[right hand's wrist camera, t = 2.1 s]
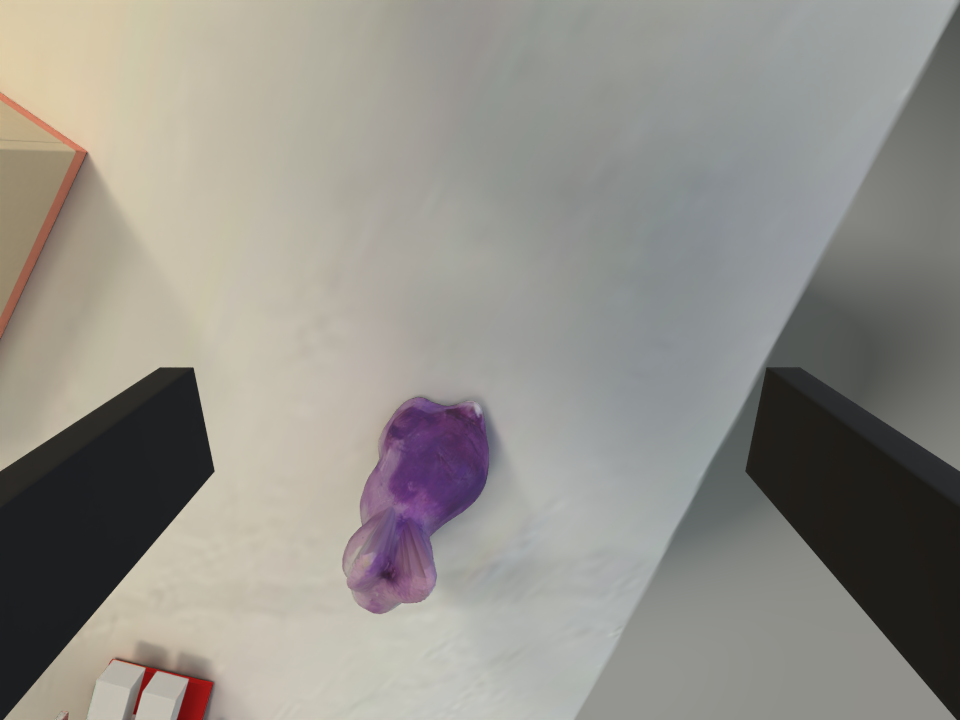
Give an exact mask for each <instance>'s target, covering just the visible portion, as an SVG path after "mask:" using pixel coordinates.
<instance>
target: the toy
mask: <svg viewBox="0 0 960 720" xmlns="http://www.w3.org/2000/svg"><path fill="white" fill-rule="evenodd" d="M212 686H213V682H209V681H205V680H200V679H196V678H192V677H188V676H184V675H179V674H175V673H171V672H167V671H163V670H158V669H154V668H150V667H146V666H141V665H137V664H133V663H129V662H125V661H120V660H116V659H112V660H111V662H110V663H109V666H108V667H107V668H106V669H105V670H104V672H103V673H102V674H101V675H100V677H99V678H98V679H97V681H96V685H95V688H94V692H93V696H92V700H91V704H90V707H89V711H88V715H87V719H86V720H202V719H203V716H204V713H205V709H206V706H207V703H208V699H209V696H210V693H211V689H212ZM55 720H68V712H65V711H61V713H60V714H59V715H58V717H57V718H56V719H55Z"/></svg>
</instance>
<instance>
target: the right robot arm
mask: <svg viewBox="0 0 960 720" xmlns="http://www.w3.org/2000/svg"><path fill="white" fill-rule="evenodd" d="M213 473H214V466H213V461H212V456H211V451H210V446H209V441H208V436H207V432H206V427H205V422H204V417H203V412H202V407H201V402H200V397H199V392H198V387H197V382H196V378H195V373H194V368H159V369H157V370H155V371H154V372H152V373H151V374H149V375H148V376H146V377H145V378H143V379H142V380H140V381H139V382H137V383H135V384H134V385H132V386H131V387H129V388H128V389H126V390H125V391H123V392H122V393H120V394H119V395H117V396H115V397H114V398H112V399H111V400H109V401H108V402H106V403H105V404H103V405H102V406H100V407H99V408H97V409H96V410H94V411H92V412H91V413H89V414H88V415H86V416H85V417H83V418H82V419H80V420H79V421H77V422H76V423H74V424H72V425H71V426H69V427H68V428H66V429H65V430H63V431H62V432H60V433H59V434H57V435H56V436H54V437H52V438H51V439H49V440H48V441H46V442H45V443H43V444H42V445H40V446H39V447H37V448H36V449H34V450H32V451H31V452H29V453H28V454H26V455H25V456H23V457H22V458H20V459H19V460H17V461H16V462H14V463H13V464H11V465H9V466H8V467H6V468H5V469H3V470H2V471H0V720H3V719H4V718H5V717H6V716H7V715H8V714H9V712H10V711H11V710H12V709H13V708H14V707H15V705H16V704H17V703H18V702H19V701H20V699H21V698H22V697H23V696H24V695H25V694H26V692H27V691H28V690H29V689H30V688H31V687H32V685H33V684H34V683H35V682H36V681H37V679H38V678H39V677H40V676H41V675H42V674H43V672H44V671H45V670H46V669H47V668H48V667H49V665H50V664H51V663H52V662H53V661H54V660H55V658H56V657H57V656H58V655H59V654H60V652H61V651H62V650H63V649H64V648H65V647H66V645H67V644H68V643H69V642H70V641H71V640H72V638H73V637H74V636H75V635H76V634H77V632H78V631H79V630H80V629H81V628H82V627H83V625H84V624H85V623H86V622H87V621H88V620H89V618H90V617H91V616H92V615H93V614H94V612H95V611H96V610H97V609H98V608H99V607H100V605H101V604H102V603H103V602H104V601H105V600H106V598H107V597H108V596H109V595H110V594H111V593H112V591H113V590H114V589H115V588H116V587H117V585H118V584H119V583H120V582H121V581H122V580H123V578H124V577H125V576H126V575H127V574H128V573H129V571H130V570H131V569H132V568H133V567H134V565H135V564H136V563H137V562H138V561H139V560H140V558H141V557H142V556H143V555H144V554H145V553H146V551H147V550H148V549H149V548H150V547H151V545H152V544H153V543H154V542H155V541H156V540H157V538H158V537H159V536H160V535H161V534H162V533H163V531H164V530H165V529H166V528H167V527H168V525H169V524H170V523H171V522H172V521H173V520H174V518H175V517H176V516H177V515H178V514H179V513H180V511H181V510H182V509H183V508H184V507H185V506H186V504H187V503H188V502H189V501H190V500H191V498H192V497H193V496H194V495H195V494H196V493H197V491H198V490H199V489H200V488H201V487H202V486H203V484H204V483H205V482H206V481H207V480H208V478H209V477H210V476H211V475H212V474H213ZM746 473H747V474H748V475H749V476H750V477H751V478H752V480H753V481H754V482H755V483H756V484H757V486H758V487H759V488H760V489H761V490H762V491H763V493H764V494H765V495H766V496H767V497H768V498H769V500H770V501H771V502H772V503H773V504H774V506H775V507H776V508H777V509H778V510H779V511H780V513H781V514H782V515H783V516H784V517H785V518H786V520H787V521H788V522H789V523H790V524H791V525H792V527H793V528H794V529H795V530H796V531H797V533H798V534H799V535H800V536H801V537H802V538H803V540H804V541H805V542H806V543H807V544H808V545H809V547H810V548H811V549H812V550H813V551H814V553H815V554H816V555H817V556H818V557H819V558H820V560H821V561H822V562H823V563H824V564H825V565H826V567H827V568H828V569H829V570H830V571H831V572H832V574H833V575H834V576H835V577H836V578H837V580H838V581H839V582H840V583H841V584H842V585H843V587H844V588H845V589H846V590H847V591H848V593H849V594H850V595H851V596H852V597H853V598H854V599H855V601H856V602H857V603H858V604H859V605H860V607H861V608H862V609H863V610H864V611H865V612H866V614H867V615H868V616H869V617H870V618H871V620H872V621H873V622H874V623H875V624H876V625H877V626H878V628H879V629H880V630H881V631H882V632H883V634H884V635H885V636H886V637H887V638H888V639H889V641H890V642H891V643H892V644H893V645H894V647H895V648H896V649H897V650H898V651H899V652H900V654H901V655H902V656H903V657H904V658H905V659H906V661H907V662H908V663H909V664H910V665H911V667H912V668H913V669H914V670H915V671H916V672H917V674H918V675H919V676H920V677H921V678H922V679H923V681H924V682H925V683H926V684H927V685H928V687H929V688H930V689H931V690H932V691H933V692H934V694H935V695H936V696H937V697H938V698H939V699H940V701H941V702H942V703H943V704H944V705H945V707H946V708H947V709H948V710H949V711H950V712H951V714H952V715H953V716H954V717H955V718H956V719H957V720H960V471H958V470H957V469H955V468H954V467H952V466H951V465H949V464H947V463H946V462H944V461H943V460H941V459H940V458H938V457H937V456H935V455H934V454H932V453H931V452H929V451H927V450H926V449H924V448H923V447H921V446H920V445H918V444H917V443H915V442H914V441H912V440H911V439H909V438H908V437H906V436H904V435H903V434H901V433H900V432H898V431H897V430H895V429H894V428H892V427H891V426H889V425H888V424H886V423H884V422H883V421H881V420H880V419H878V418H877V417H875V416H874V415H872V414H871V413H869V412H868V411H866V410H864V409H863V408H861V407H860V406H858V405H857V404H855V403H854V402H852V401H851V400H849V399H848V398H846V397H845V396H843V395H841V394H840V393H838V392H837V391H835V390H834V389H832V388H831V387H829V386H828V385H826V384H824V383H823V382H821V381H820V380H818V379H817V378H815V377H814V376H812V375H811V374H809V373H808V372H806V371H805V370H803V369H801V368H766V373H765V378H764V382H763V387H762V392H761V397H760V402H759V407H758V412H757V417H756V422H755V427H754V432H753V436H752V441H751V446H750V451H749V456H748V461H747V466H746Z"/></svg>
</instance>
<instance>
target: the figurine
mask: <svg viewBox="0 0 960 720" xmlns="http://www.w3.org/2000/svg"><path fill="white" fill-rule="evenodd" d="M378 449H379V458H380V459H379V461H378V463H377V466H376V467H375V469H374V470H373V471H372V473H371V474H370V476H369V478H368V480H367V482H366V484H365V487H364V491H363V494H362V497H361V501H360V515H361V522H362V527H360V528H359V529H358V530H357V531H356V533H355V534H354V535H353V536H352V537H351V538H350V540H349V542H348V544H347V546H346V548H345V551H344V555H343V565H342V567H343V571H344V573H345V575H346V577H347V585H348V587H349V588H350V589H351V591H352V595H353V598H354V600H355V601H356V603H357V604H358V605H359V606H361V607H363V608H365V609H366V610H368V611H370V612H372V613H376V614H382V613H386V612H388V611H390V610H392V609H394V608H395V607H397V606H398V605H400V604H401V603H417V602H421V601H422V600H425V599H426V598H427V597H428V596H429V595H430V593H431V592H432V590H433V588H434V587H435V583H436V578H437V574H436V569H435V564H434V561H433V552H432V547H431V543H430V539H429V537H430V536H431V535H432V534H433V533H434V532H435V531H436V530H438V529H439V528H440V527H441V526H442V525H443V524H445V523H446V522H448V521H449V520H451V519H452V518H454V517H455V516H457V515H459V514H460V513H462V512H463V511H464V510H466V509H467V508H468V507H469V506H470V505H471V504H472V503H473V502H475V500H476V499H477V498H478V496H479V495H480V494H481V492H482V490H483V488H484V486H485V483H486V479H487V474H488V466H489V448H488V442H487V437H486V430H485V421H484V414H483V410H482V408H481V406H480V405H479V404H478V403H476V402H474V401H465V402H462V403H460V404H456V405H452V406H442V405H439V404H435V403H433V402H430V401H429V400H427V399H425V398H421V397H417V398H413V399H410V400H408V401H406V402H405V403H403V404H402V405H401V406H400V407H399V408H398V409H397V410H396V412H395V413H394V414H393V416H392V417H391V419H390V420H389V422H388V423H387V425H386V426H385V428H384V430H383V432H382V434H381V436H380V439H379V444H378Z"/></svg>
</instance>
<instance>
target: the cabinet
mask: <svg viewBox="0 0 960 720" xmlns="http://www.w3.org/2000/svg"><path fill="white" fill-rule="evenodd" d="M86 153H87V151H85V150H84V149H82V148H81V147H79V146H78V145H76V144H75V143H74V142H72V141H71V140H69V139H68V138H66V137H65V136H63V135H62V134H60V133H59V132H57V131H56V130H54V129H53V128H51V127H50V126H48V125H47V124H46V123H44V122H43V121H41V120H40V119H38V118H37V117H35V116H34V115H32V114H31V113H29V112H28V111H26V110H25V109H23V108H22V107H20V106H19V105H18V104H16V103H15V102H13V101H12V100H10V99H9V98H7V97H6V96H4V95H3V94H1V93H0V338H1V336H2V334H3V332H4V330H5V327H6V325H7V323H8V321H9V319H10V317H11V315H12V312H13V310H14V308H15V306H16V304H17V302H18V299H19V297H20V295H21V293H22V291H23V289H24V287H25V284H26V282H27V280H28V278H29V276H30V274H31V271H32V269H33V267H34V265H35V263H36V261H37V258H38V256H39V254H40V252H41V250H42V248H43V246H44V243H45V241H46V239H47V237H48V235H49V233H50V230H51V228H52V226H53V224H54V222H55V220H56V218H57V215H58V213H59V211H60V209H61V207H62V205H63V202H64V200H65V198H66V196H67V194H68V192H69V190H70V187H71V185H72V183H73V181H74V179H75V177H76V174H77V172H78V170H79V168H80V166H81V164H82V161H83V159H84V157H85V155H86Z"/></svg>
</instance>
